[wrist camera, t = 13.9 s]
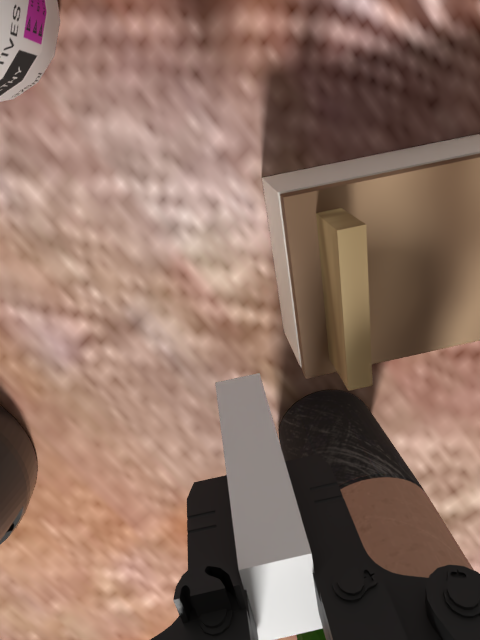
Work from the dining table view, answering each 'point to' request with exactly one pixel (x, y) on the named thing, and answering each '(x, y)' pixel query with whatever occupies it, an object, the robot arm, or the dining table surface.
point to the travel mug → (371, 483)
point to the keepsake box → (333, 175)
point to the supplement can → (26, 43)
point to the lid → (384, 266)
